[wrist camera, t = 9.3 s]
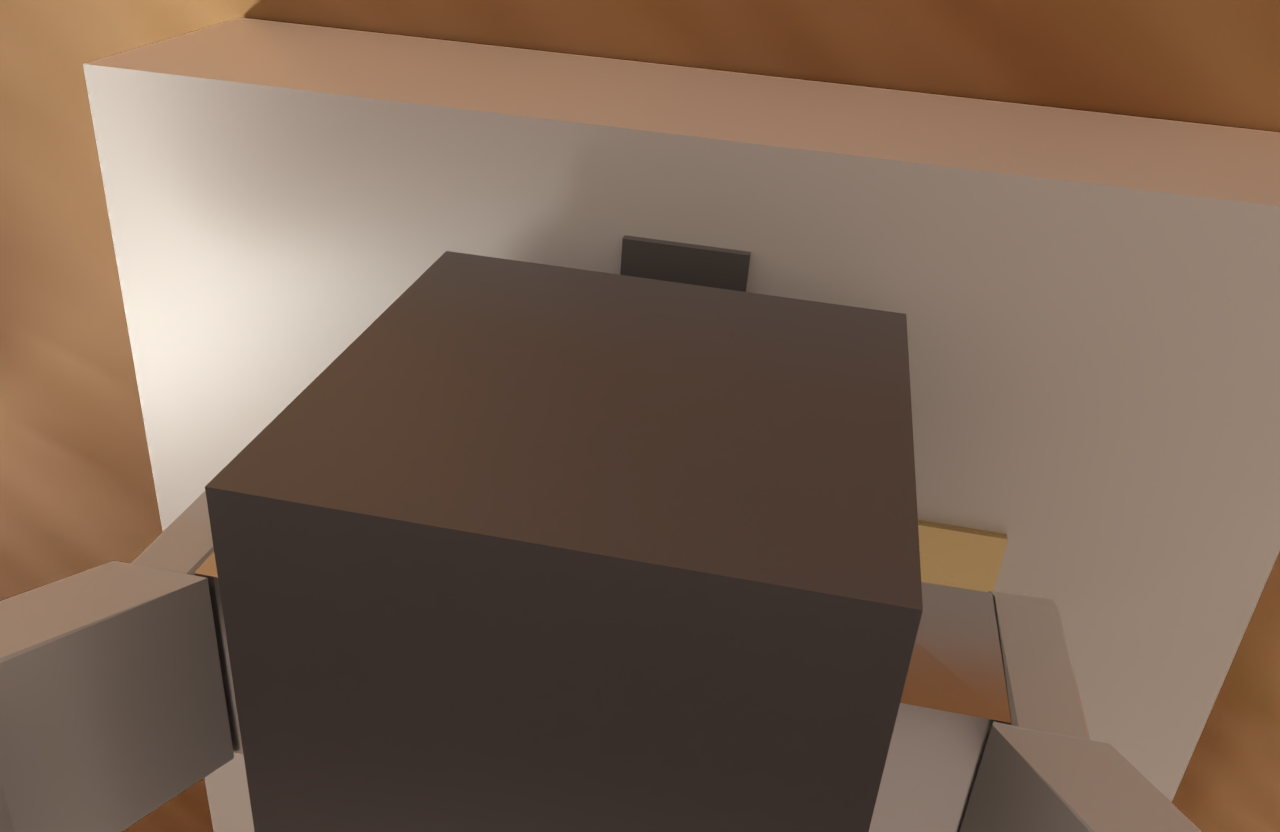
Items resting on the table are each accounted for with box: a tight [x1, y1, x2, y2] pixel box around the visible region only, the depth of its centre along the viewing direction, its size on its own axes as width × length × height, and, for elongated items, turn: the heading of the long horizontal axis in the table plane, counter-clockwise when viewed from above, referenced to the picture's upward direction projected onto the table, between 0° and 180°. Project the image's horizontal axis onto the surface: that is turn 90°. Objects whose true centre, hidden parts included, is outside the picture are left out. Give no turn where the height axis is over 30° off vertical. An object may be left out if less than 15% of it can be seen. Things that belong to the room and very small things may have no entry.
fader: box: [205, 251, 923, 832], centre depth 9 cm, size 5×4×5 cm
